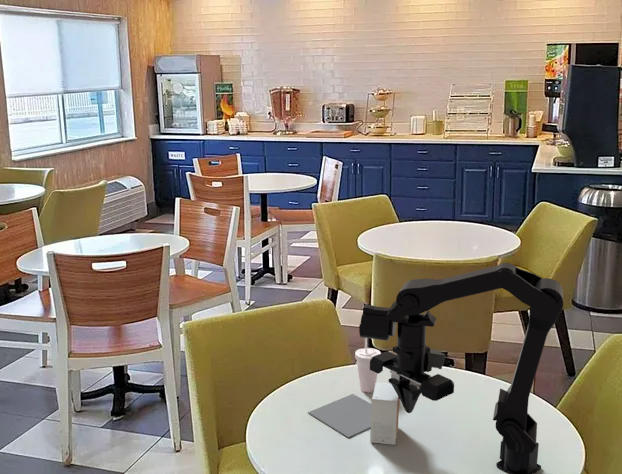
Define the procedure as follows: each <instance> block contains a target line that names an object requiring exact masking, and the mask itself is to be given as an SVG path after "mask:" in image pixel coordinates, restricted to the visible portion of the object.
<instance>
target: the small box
mask: <svg viewBox="0 0 622 474" xmlns="http://www.w3.org/2000/svg"><path fill="white" fill-rule="evenodd" d="M372 393H373V394H372V397H371V404H372V405H371V428H370V432H369V433H370V435H369V436H370V437H369V440H370V441H369V442H370V443H375V444H385V445H391V446H395V445H397V436H398V430H399V429H398V428H399V414H400V402H401V401H400V399H399V397H398V395H397V393H396V391H395V390H394V388H393V386H392V384H391V383H389V382H382V381H376V383H375V389H374V391H373V392H372Z"/></svg>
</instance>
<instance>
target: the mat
mask: <svg viewBox="0 0 622 474" xmlns="http://www.w3.org/2000/svg"><path fill="white" fill-rule="evenodd" d="M371 405H372V402H368V401H367V400H365V399H363V398H361V397H359V396H358V395H356V394H354V393H352V394H349V395H346V396H344V397H342V398H339V399H337V400H334V401H332V402H330V403H328V404H325V405H322V406H320V407H318V408H314V409H313V410H310V411H308V412H307V414H308V415H310V416H312V417H313V418H314V419H317V420H318V421H320V422H322V424H325V425H326V426H328V427H330V428H331V429H332V430H335V431H336V432H338V433H339V434H341V435H342V436H344V437H346V438H347V439H350V438H353V437H355V436H356V435H359V434H362V433H363V432H365V431H367V430H369V429H370V430H371Z"/></svg>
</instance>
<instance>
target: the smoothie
mask: <svg viewBox="0 0 622 474" xmlns="http://www.w3.org/2000/svg"><path fill="white" fill-rule="evenodd" d="M381 353H382V352H381V351H380V350H378V349H376V348H372V347H368V338H364V348H359V349H357V350H355V355H354V356H355V357H354V358H355V359H356V365H357V372H358V379H359V388H360V391H361V392H363V393H374V389H375V383H376V382H377V378H378V373H376V372H373V371H371V370H370V360H371V358H372V357H373V356H376V355H379V354H381Z"/></svg>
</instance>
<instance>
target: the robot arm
mask: <svg viewBox="0 0 622 474" xmlns="http://www.w3.org/2000/svg"><path fill="white" fill-rule="evenodd" d="M499 289H503V290H505V291H506V292H508V293H510V294H511V295H512V296H514V297H515V298H516V299H517V300H519V301H520V302H521V303H523V304H525V305H527V306H529V315H528V324H527V327H526V328H527V329H526V332H525V335H524V337H523V338H524V339H523V342H522V346H521V348H520V352H519V356H518V359H517V363H516V367H515V370H514V373H513V377H512V380H511V384H510V386H509V387H508V388H507V390H504V389H502V388H499V394H498V400H497V401H496V402H495V405H494V411H493V417H492V421H495V430H496V431H497V433H498V434H499V435H500V436H501V437H502V440H501V441H500V448H499V449H500V450H499V461H497V462H496V467H498V468H499V469H500V470H501V469H502V470H503V471H505V472H507V473H509V474H535V473H537V472H538V471H540V470H541V469H542V465H541V464H539V463H538V456H539V445H540V443H539V442H537V439H538V438H537V437H538V436H537V434H538V422H537V421H536V420H535V419H534V418H533V417H532V416H531V415H530V414H529V413H528V412H529V411H528V409H529V399H530V395H531V392H532V391H531V390H532V388H533V385H534V381H535V377H536V374H537V371H538V368H539V364H540V361H541V357H542V353H543V350H544V348H545V344H546V340H547V337H548V334H549V333H550V331H551V329H552V328H553V327H554V325H555V324H556V322H557V320H558V319H559V316H560V315H561V313H562V311H563V308H564V290H563V287H562V285H561V284H560V283H559V282H558V280H555V279H552V278H547V277H545V278H543V277H542V276H539V275H537V274H536V273H533V272H531V271H528V270H525V269H522V268H519V267H517V266H515V265H514V264H512V263H510V262H501V263H500V264H498V265H494V266H490V267H486V268H482V269H479V270H474V271H470V272H466V273H462V274H458V275H453V276H449V277H446V278H445V277H444V278H438V279H434V278H416V279H409V280H407V281H405V283H404V284H403V286H402V287H401V288H400V290H399V292H398V293H397V295H396V299H395V301H393V302H392V304H391V306H390V307H385V306H383V307H381V306H376V305H372V304H365V305H364V306H363V307H362V314H361V318H360V324H359V327H358V329H359V331H358V332H359V336H360V338H364V339H365V338H367V339H371V340H380V341H389V340H390V338H391V337H394V336H395V335H396V333H397V336H396V337H397V338H396V345H395V346H393V347H392V352H391V351H384V352H381V354H379V355H376V356H373V357H372V358H371V360H370V370H371V371H373V372H376V373H377V375H378V374H381V373H382V372H384V371H383V370H384V368H386V369H387V370H389V373H390V378H388V380H387V381H388V383H391V384H392V386H393V388H394V390H395V391H396V393H397V395H398V397H399V399H400V402H401V404H402V407H403V409H404V411H405V413H407V414H411V413H413V411H414V408H415V406H416V404H417V402H418V400H419V398H420V395H422V396H423V397H424V398H427V399H429V400H431V401H434V402H435V401H436V402H438V401H439V400H441V399H443V398H446V397H448V396H450V395H452V394H454V392H455V382H454V381H453V380H452V379H451V378H448V377H447V376H444V375H442V374H439V373H437V374H434V375H431V374H428V373H429V372H431V371H432V369H439V370H442V369H443V366H444V362H445V359H446V354H445V353H443V352H440V351H438V350H435V349H434V348H431V347H430V346H427V342H426V340H427V327H431V328H433V327H435V325H436V322H437V317H435V316H434V315H433V314H432V313H431V311H430V310H431V309H433V308H435V307H437V306H438V305H441V304H443V303H445V302H449V301H452V300H458V299H461V298H466V297H469V296H474V295H478V294H482V293H486V292H492V291H495V290H499ZM396 331H397V332H396Z"/></svg>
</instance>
